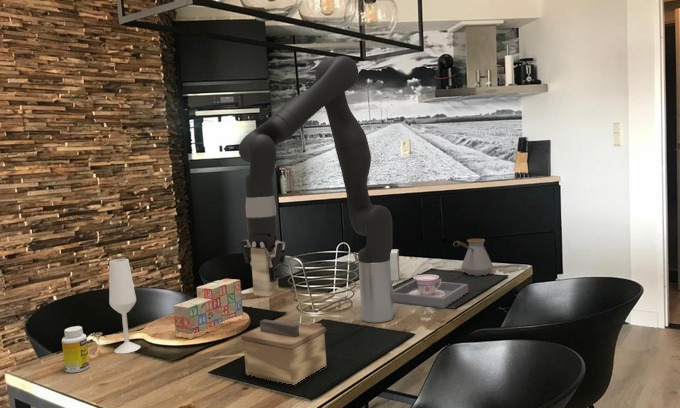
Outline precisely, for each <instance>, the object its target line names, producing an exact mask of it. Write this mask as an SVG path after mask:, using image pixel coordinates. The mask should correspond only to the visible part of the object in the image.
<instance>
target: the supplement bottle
mask: <svg viewBox="0 0 680 408" xmlns="http://www.w3.org/2000/svg"><path fill="white" fill-rule="evenodd" d="M61 345H62V346H61V347H62V348H61V349H62V356H63V364H64V365H63V367H64V370H65V372H66V373H71V374H72V373H79V372H83V371H85V370H87V369H88V368H89V367H90V359H89V347H88V338H87V335H86V334H85V333H84V331H83V327H82V326H80V325H76V326H70V327H67V328H65V329H64V336H63V337H62V339H61Z"/></svg>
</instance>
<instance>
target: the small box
mask: <svg viewBox="0 0 680 408" xmlns="http://www.w3.org/2000/svg"><path fill="white" fill-rule="evenodd" d="M399 258H400V255H399V249H397V248H396V249H395V248H394V249H393V248H392V250H391V253H390V264H391V282H394V281H396V282H398V281H400V276H401V275H400V259H399Z"/></svg>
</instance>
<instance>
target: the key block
mask: <svg viewBox="0 0 680 408" xmlns="http://www.w3.org/2000/svg"><path fill="white" fill-rule="evenodd" d="M275 247H276V246H275ZM266 249H268V248H266ZM266 249H262V248H252V247H251V261H252V266H251V272H252V273H251V274H252V289H253V295H255V296H259V297H270V296H272V295H276V294H278V293H279V292H280V290H279V289H280V288H279V278H278V279H277V281H275V282H270V277H269V268H270V267H269V265H268V259H267V255H266ZM275 250H276V249H275ZM268 253H269V252H268ZM272 254H274V250H273V252H271V253H269V255H272ZM272 261H273V258H272Z"/></svg>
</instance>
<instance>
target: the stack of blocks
mask: <svg viewBox="0 0 680 408" xmlns="http://www.w3.org/2000/svg"><path fill="white" fill-rule="evenodd" d="M242 295H243V293H242V283H241V280H240V279H235V278H234V279H232V278H223V279H220V280H214V281H212V282H208V283H206V284H204V285H199V286H197V287H196V296H197V297H195V298H191V299H189V300H187V301H186V300H185V301H183V302H180V303H177V304H174V305H173V312H174V318H173V319H174V328H175V332H176V331H177V332H183V333H187V334H193V333H197V332H200V331H204V330H206V329H208V328H210V327H213V326H215V325H217V324H219V323H221V322H223V321H225V320H228V319H230V318H233V317H237V316H240V315H243V316H244V311H243V300H242V299H243V296H242Z"/></svg>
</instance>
